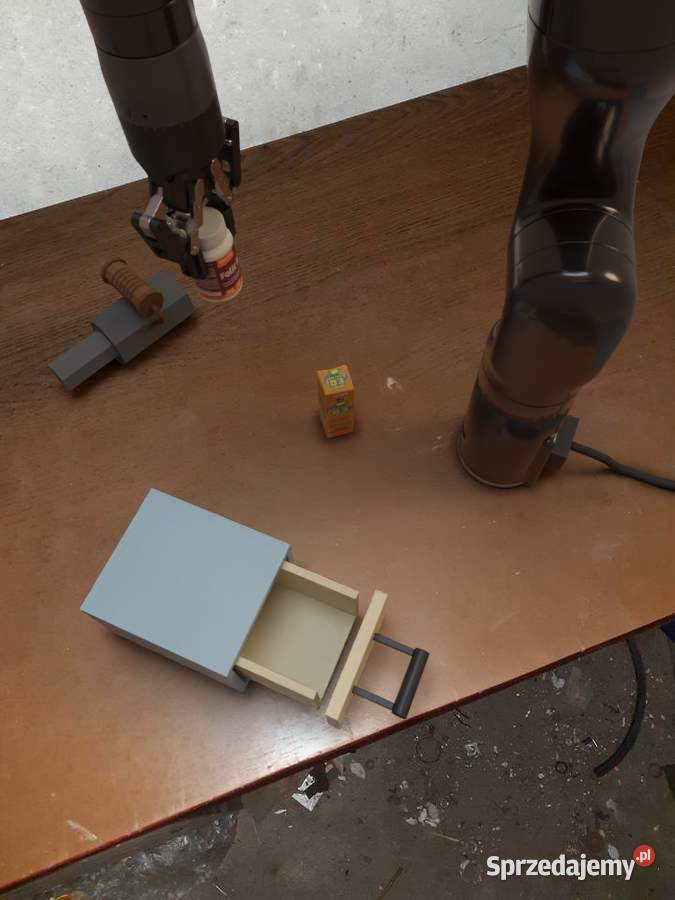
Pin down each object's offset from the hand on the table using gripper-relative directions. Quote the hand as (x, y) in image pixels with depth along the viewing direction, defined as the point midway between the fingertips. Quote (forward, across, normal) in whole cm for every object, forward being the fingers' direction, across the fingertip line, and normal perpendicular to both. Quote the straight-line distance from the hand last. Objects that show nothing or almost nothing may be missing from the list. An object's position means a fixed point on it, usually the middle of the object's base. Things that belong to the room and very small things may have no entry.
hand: (211, 254), depth 65 cm
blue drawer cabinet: (+20, -26, -10) cm, 34 cm away
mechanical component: (+20, -3, +15) cm, 25 cm away
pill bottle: (+5, 0, 0) cm, 5 cm away
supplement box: (+20, -2, -13) cm, 24 cm away
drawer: (+19, -26, -22) cm, 40 cm away
